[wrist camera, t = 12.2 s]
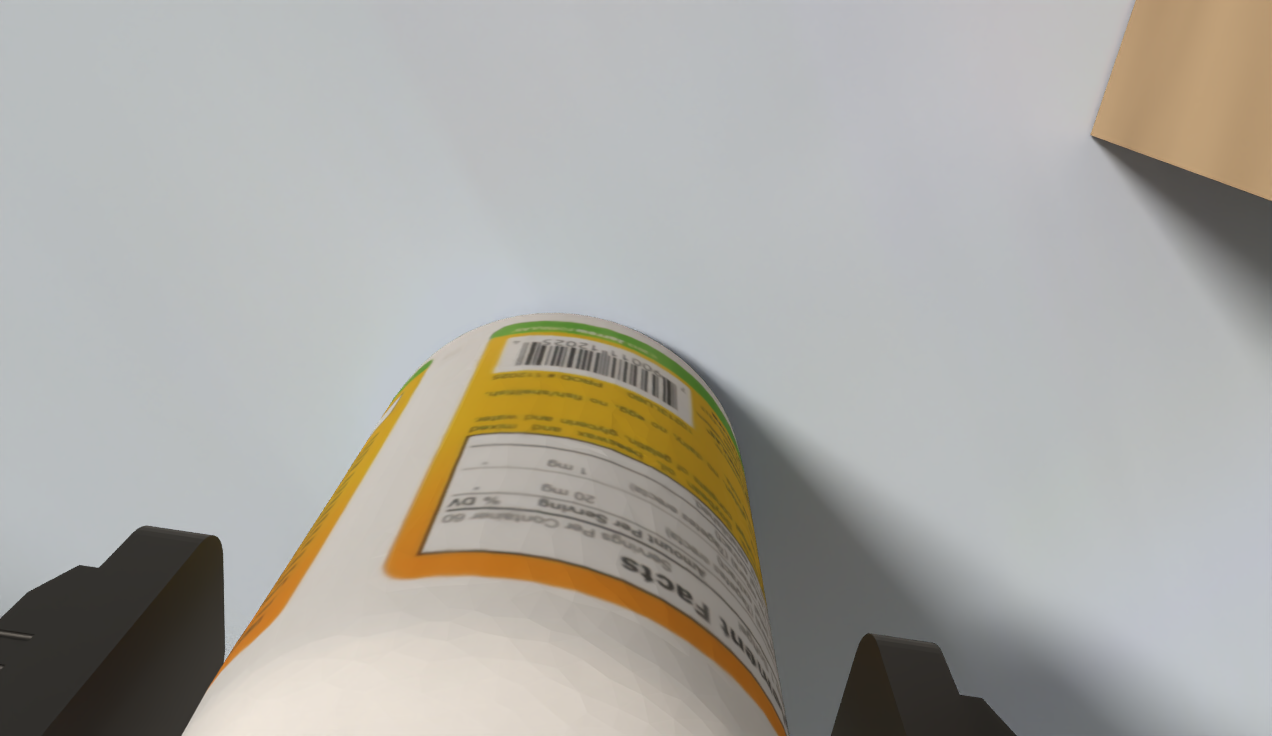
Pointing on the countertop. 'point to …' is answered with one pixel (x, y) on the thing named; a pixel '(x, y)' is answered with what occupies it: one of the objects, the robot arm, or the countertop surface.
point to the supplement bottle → (522, 559)
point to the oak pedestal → (1196, 89)
